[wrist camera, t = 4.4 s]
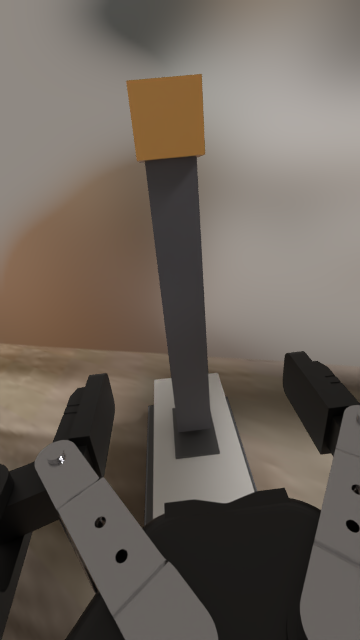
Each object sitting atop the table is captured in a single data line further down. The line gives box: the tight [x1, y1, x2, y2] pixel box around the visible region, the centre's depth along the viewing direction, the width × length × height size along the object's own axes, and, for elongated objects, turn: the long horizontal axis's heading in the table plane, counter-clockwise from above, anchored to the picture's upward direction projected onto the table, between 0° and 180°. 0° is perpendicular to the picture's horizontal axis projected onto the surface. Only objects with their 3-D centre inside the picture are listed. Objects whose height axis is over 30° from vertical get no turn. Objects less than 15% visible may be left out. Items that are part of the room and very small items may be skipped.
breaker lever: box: [127, 74, 211, 432], centre depth 19 cm, size 3×3×21 cm
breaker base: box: [144, 373, 257, 526], centre depth 25 cm, size 18×9×6 cm, turn 4°
